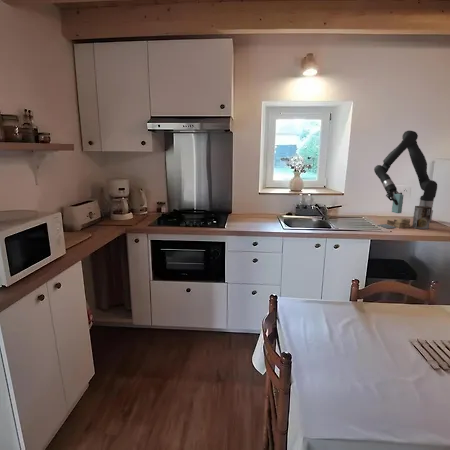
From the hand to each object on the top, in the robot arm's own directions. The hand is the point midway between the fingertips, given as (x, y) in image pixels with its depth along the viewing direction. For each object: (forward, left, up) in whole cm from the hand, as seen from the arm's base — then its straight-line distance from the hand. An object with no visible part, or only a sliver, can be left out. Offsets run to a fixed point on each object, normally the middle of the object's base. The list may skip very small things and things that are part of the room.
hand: (399, 204), depth 244 cm
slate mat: (+11, +2, -16) cm, 20 cm away
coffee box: (-11, +11, -17) cm, 23 cm away
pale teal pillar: (0, -2, -7) cm, 7 cm away
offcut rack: (0, +1, -16) cm, 16 cm away
